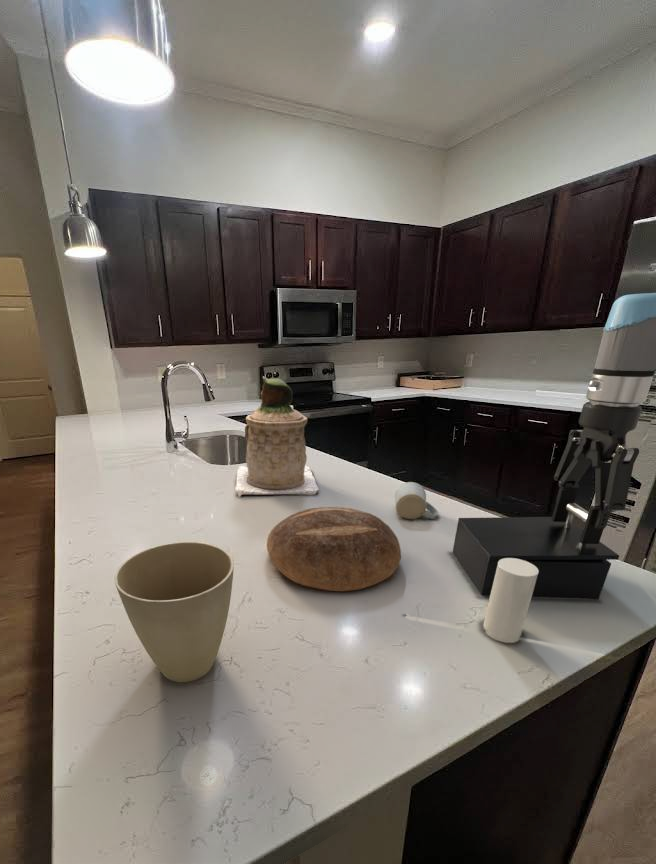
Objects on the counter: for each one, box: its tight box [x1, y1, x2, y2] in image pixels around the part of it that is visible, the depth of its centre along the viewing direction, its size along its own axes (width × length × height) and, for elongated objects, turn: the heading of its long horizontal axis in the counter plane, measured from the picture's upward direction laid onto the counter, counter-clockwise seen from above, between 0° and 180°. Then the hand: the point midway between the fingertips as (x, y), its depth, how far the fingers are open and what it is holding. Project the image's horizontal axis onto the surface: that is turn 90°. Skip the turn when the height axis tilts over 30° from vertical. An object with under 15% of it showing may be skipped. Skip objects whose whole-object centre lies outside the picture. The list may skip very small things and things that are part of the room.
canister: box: [482, 558, 539, 644], centre depth 63 cm, size 5×5×12 cm
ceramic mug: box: [394, 481, 439, 520], centre depth 105 cm, size 11×8×8 cm
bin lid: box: [457, 502, 620, 561], centre depth 75 cm, size 20×16×6 cm
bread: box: [266, 506, 402, 592], centre depth 85 cm, size 26×27×10 cm
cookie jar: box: [234, 376, 319, 498], centre depth 124 cm, size 25×25×32 cm
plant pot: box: [114, 541, 235, 683], centre depth 57 cm, size 15×15×16 cm
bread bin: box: [452, 521, 612, 600], centre depth 78 cm, size 20×16×8 cm
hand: (573, 531), depth 75 cm, fingers open, 8 cm apart
